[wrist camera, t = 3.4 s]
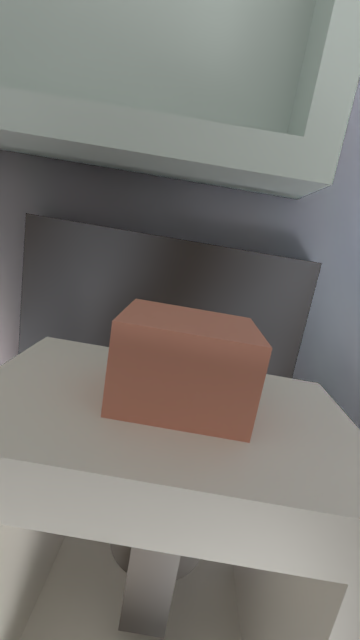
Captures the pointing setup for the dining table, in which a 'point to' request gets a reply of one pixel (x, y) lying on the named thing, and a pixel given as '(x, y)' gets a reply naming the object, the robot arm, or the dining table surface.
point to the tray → (183, 87)
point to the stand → (164, 287)
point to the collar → (175, 484)
